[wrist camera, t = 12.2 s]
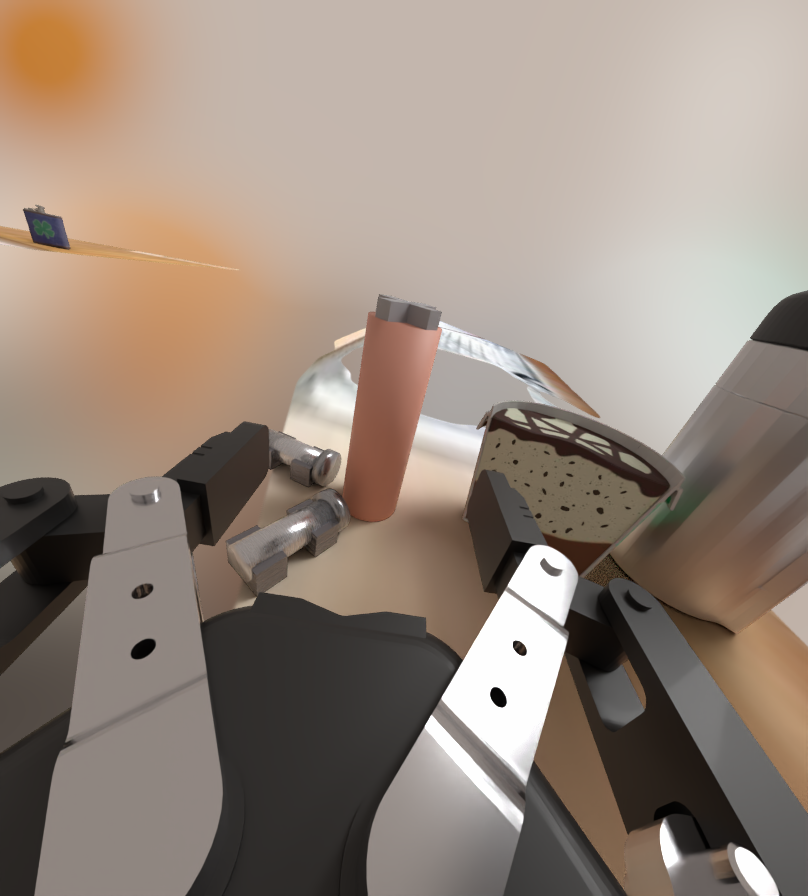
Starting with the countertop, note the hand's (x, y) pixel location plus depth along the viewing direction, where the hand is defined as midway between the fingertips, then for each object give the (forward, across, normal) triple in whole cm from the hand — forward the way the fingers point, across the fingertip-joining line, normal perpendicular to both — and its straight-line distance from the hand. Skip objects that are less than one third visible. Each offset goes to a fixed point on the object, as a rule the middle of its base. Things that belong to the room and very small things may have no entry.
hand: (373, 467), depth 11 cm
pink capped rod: (+10, 0, +10) cm, 14 cm away
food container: (+10, -14, +10) cm, 20 cm away
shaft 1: (+12, +7, +10) cm, 17 cm away
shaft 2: (+4, +4, +10) cm, 12 cm away
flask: (+106, +118, +10) cm, 159 cm away
